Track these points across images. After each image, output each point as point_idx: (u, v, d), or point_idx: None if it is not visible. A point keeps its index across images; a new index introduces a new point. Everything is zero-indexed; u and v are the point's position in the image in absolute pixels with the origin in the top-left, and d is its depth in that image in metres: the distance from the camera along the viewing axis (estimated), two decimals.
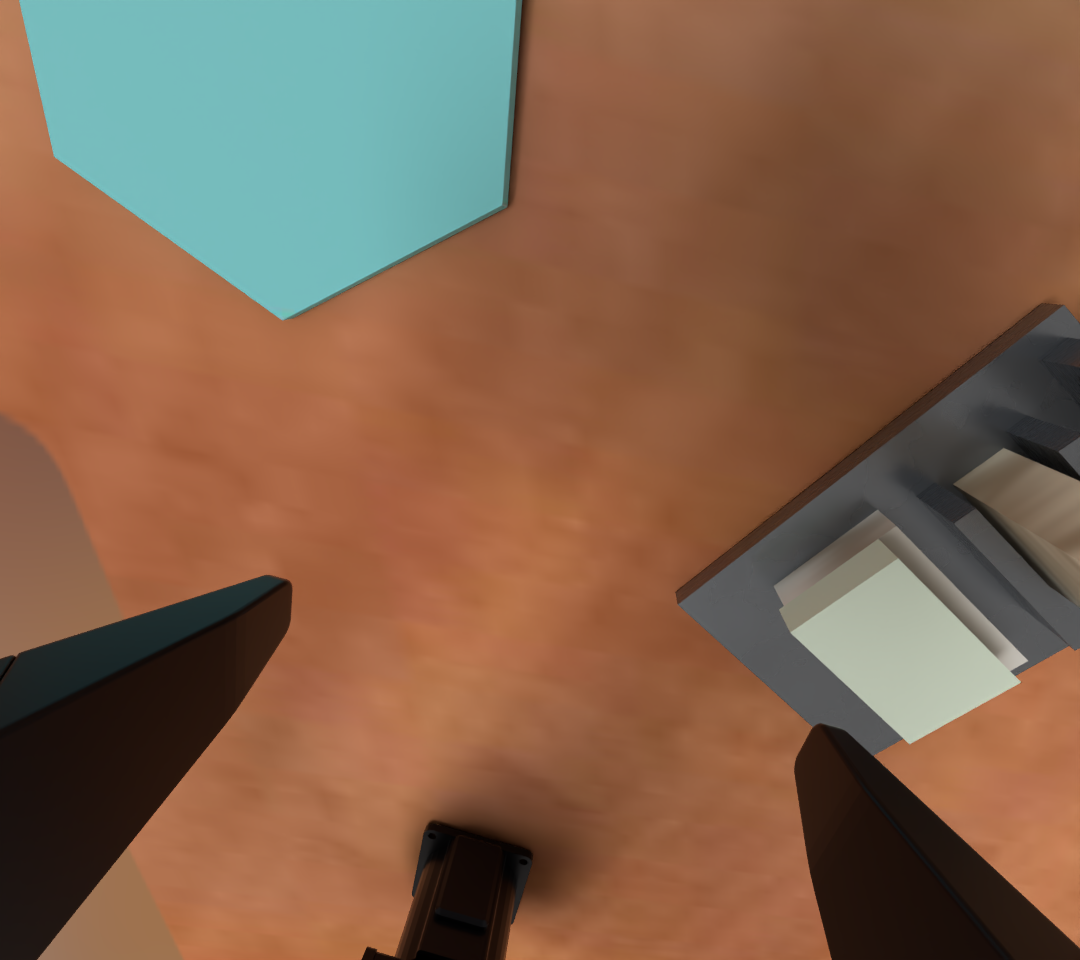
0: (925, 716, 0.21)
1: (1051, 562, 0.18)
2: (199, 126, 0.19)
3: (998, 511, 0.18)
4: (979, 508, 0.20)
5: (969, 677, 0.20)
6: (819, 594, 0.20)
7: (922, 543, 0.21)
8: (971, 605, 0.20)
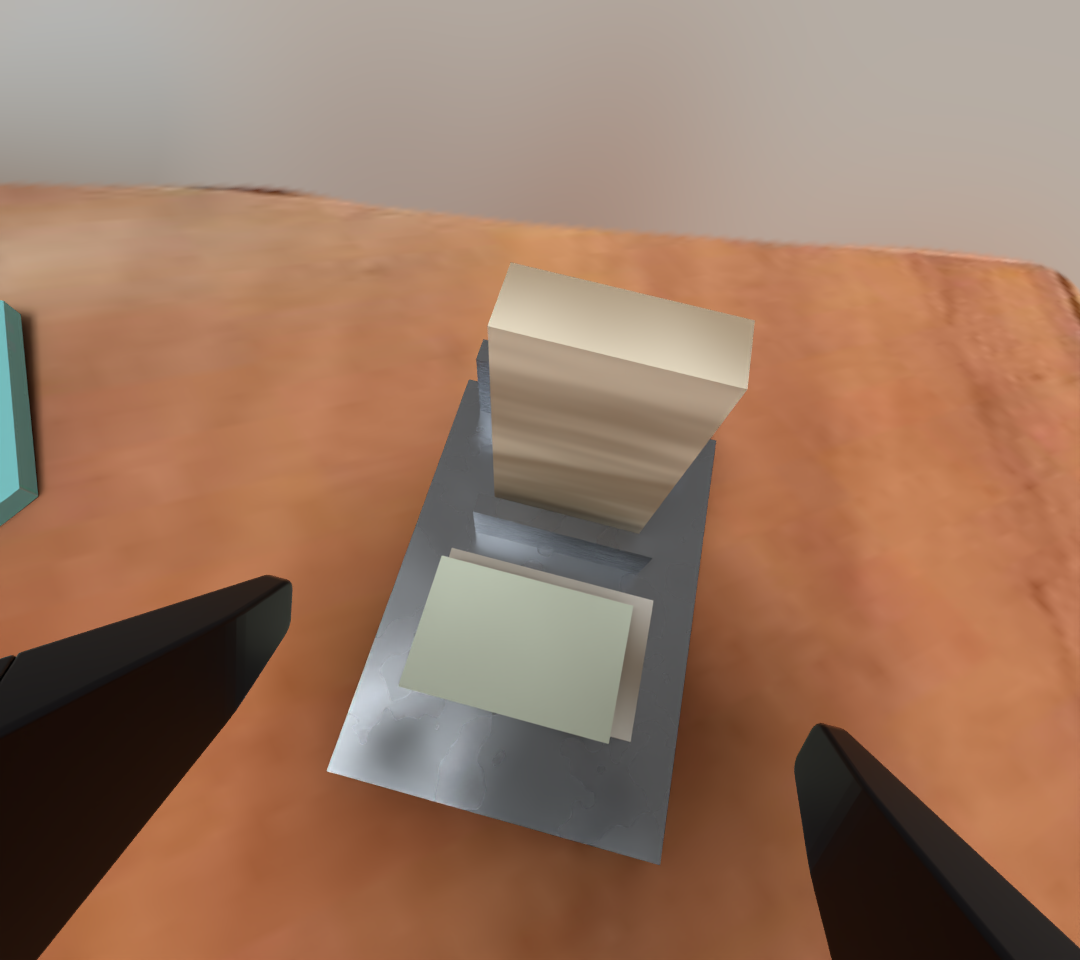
0: (593, 697, 0.18)
1: (548, 492, 0.20)
2: None
3: (494, 485, 0.21)
4: None
5: (590, 628, 0.19)
6: None
7: None
8: (564, 578, 0.21)
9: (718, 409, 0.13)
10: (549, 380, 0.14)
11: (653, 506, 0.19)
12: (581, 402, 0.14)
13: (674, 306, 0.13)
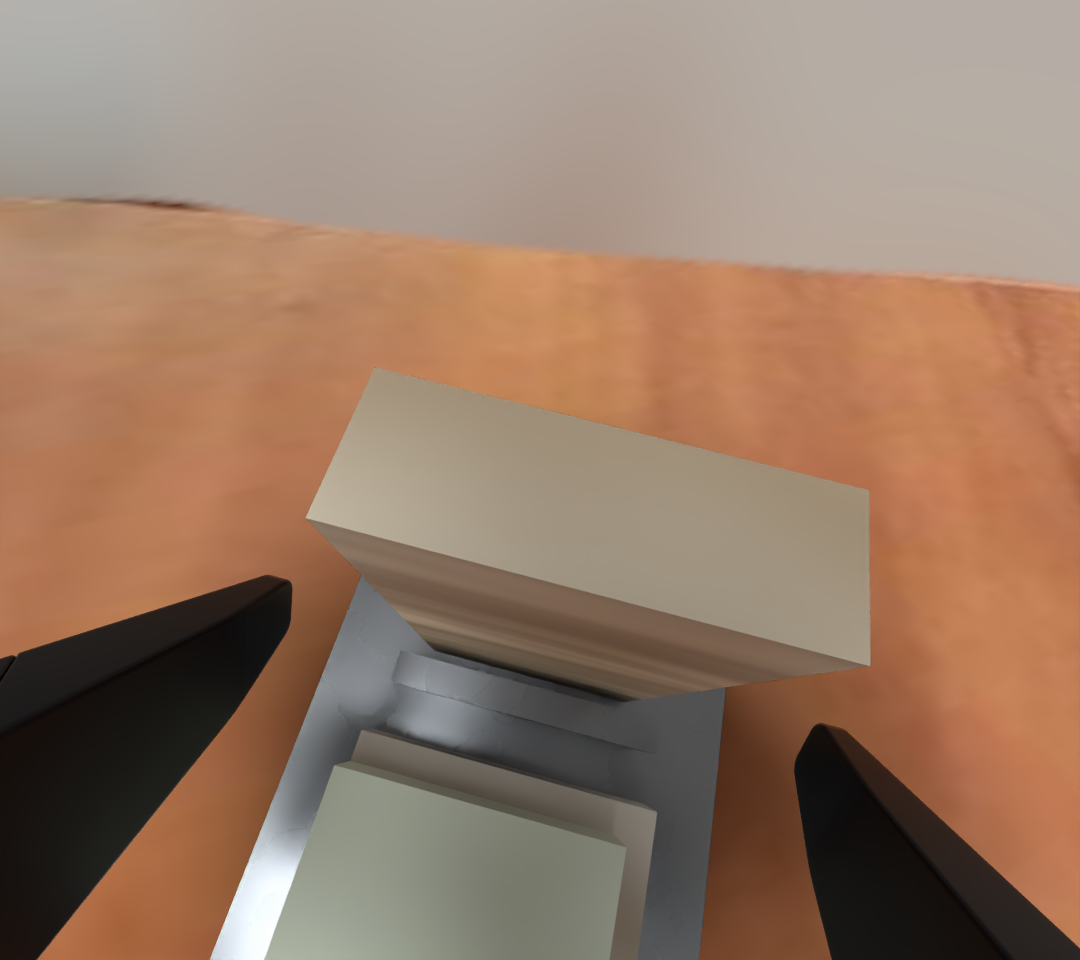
0: None
1: (500, 657, 0.14)
2: None
3: (424, 639, 0.14)
4: (467, 658, 0.16)
5: (560, 891, 0.12)
6: None
7: (454, 739, 0.16)
8: (526, 778, 0.14)
9: (793, 667, 0.06)
10: (460, 588, 0.07)
11: (657, 694, 0.12)
12: (526, 614, 0.08)
13: (704, 460, 0.06)
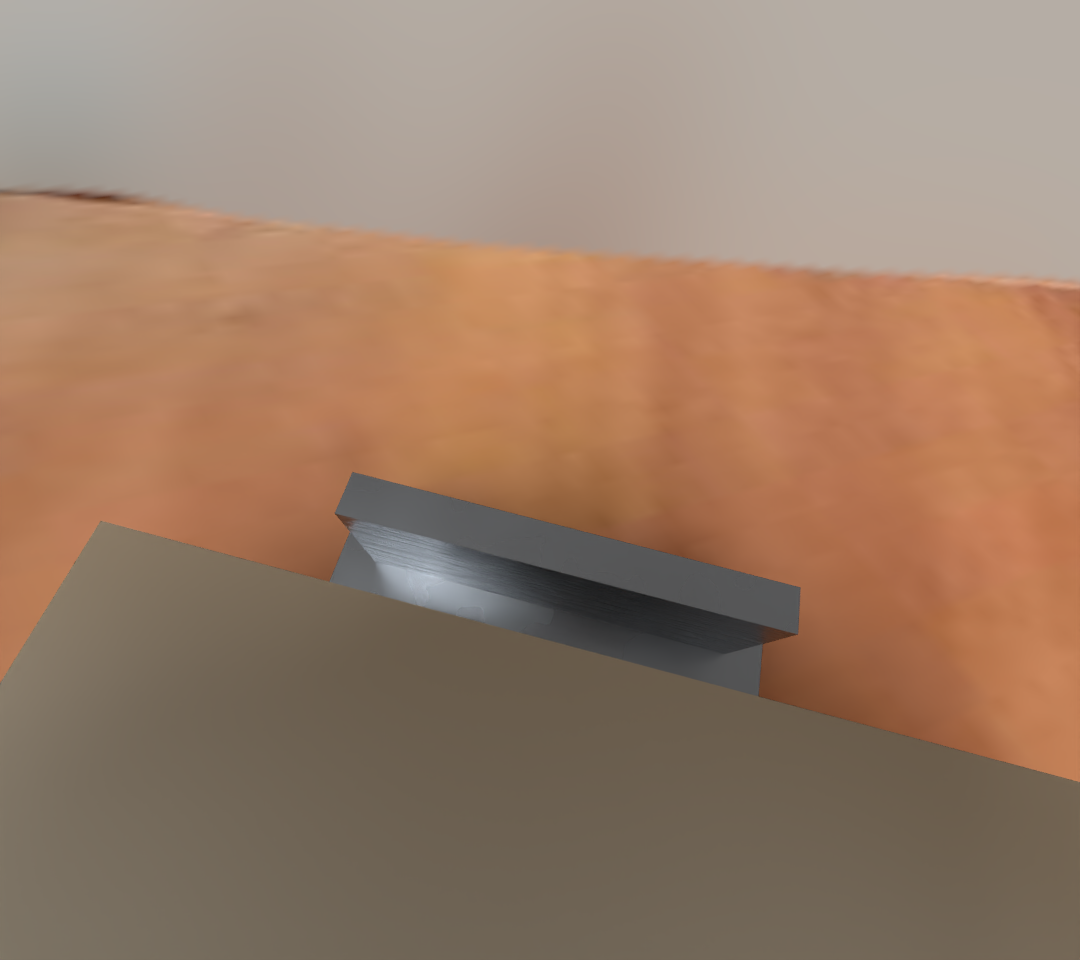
0: None
1: None
2: None
3: None
4: None
5: None
6: None
7: None
8: None
9: None
10: None
11: None
12: None
13: (793, 733, 0.03)
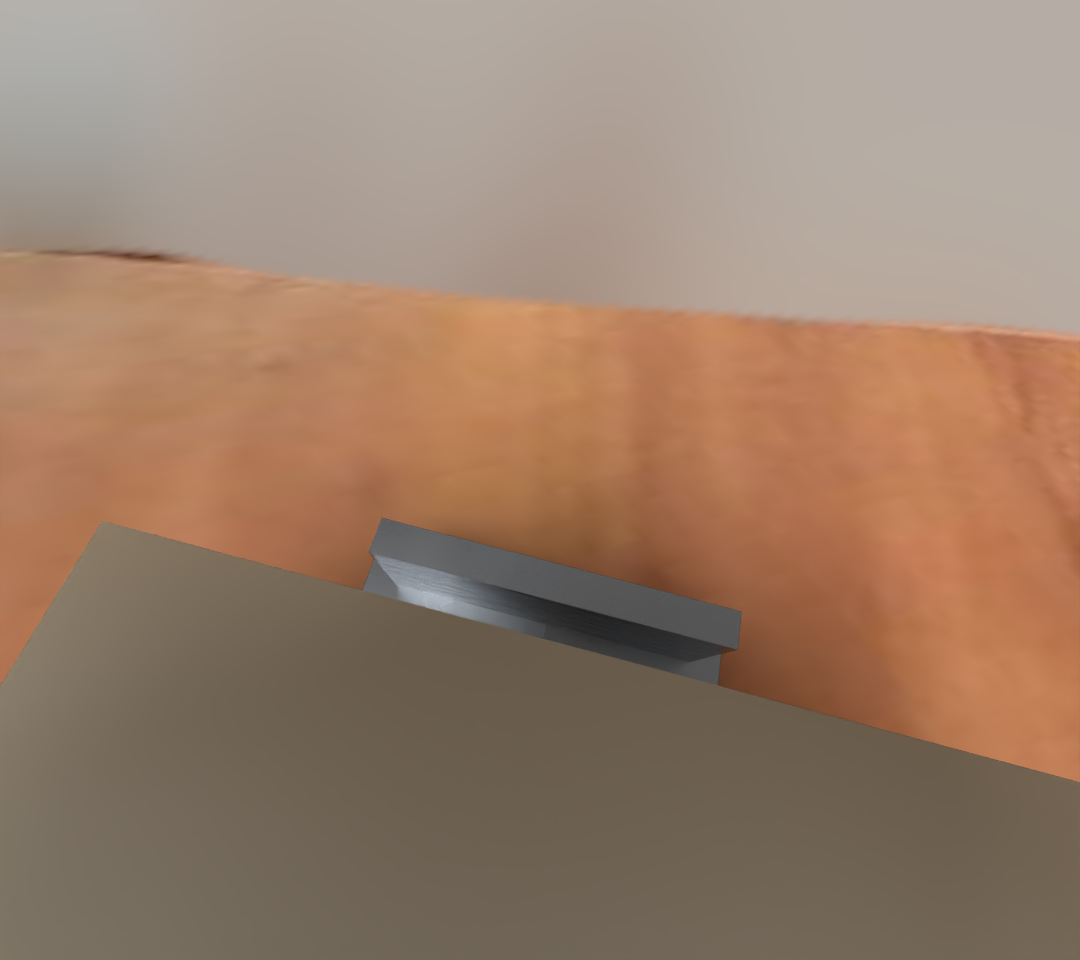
0: None
1: None
2: None
3: None
4: None
5: None
6: None
7: None
8: None
9: None
10: None
11: None
12: None
13: (793, 733, 0.03)
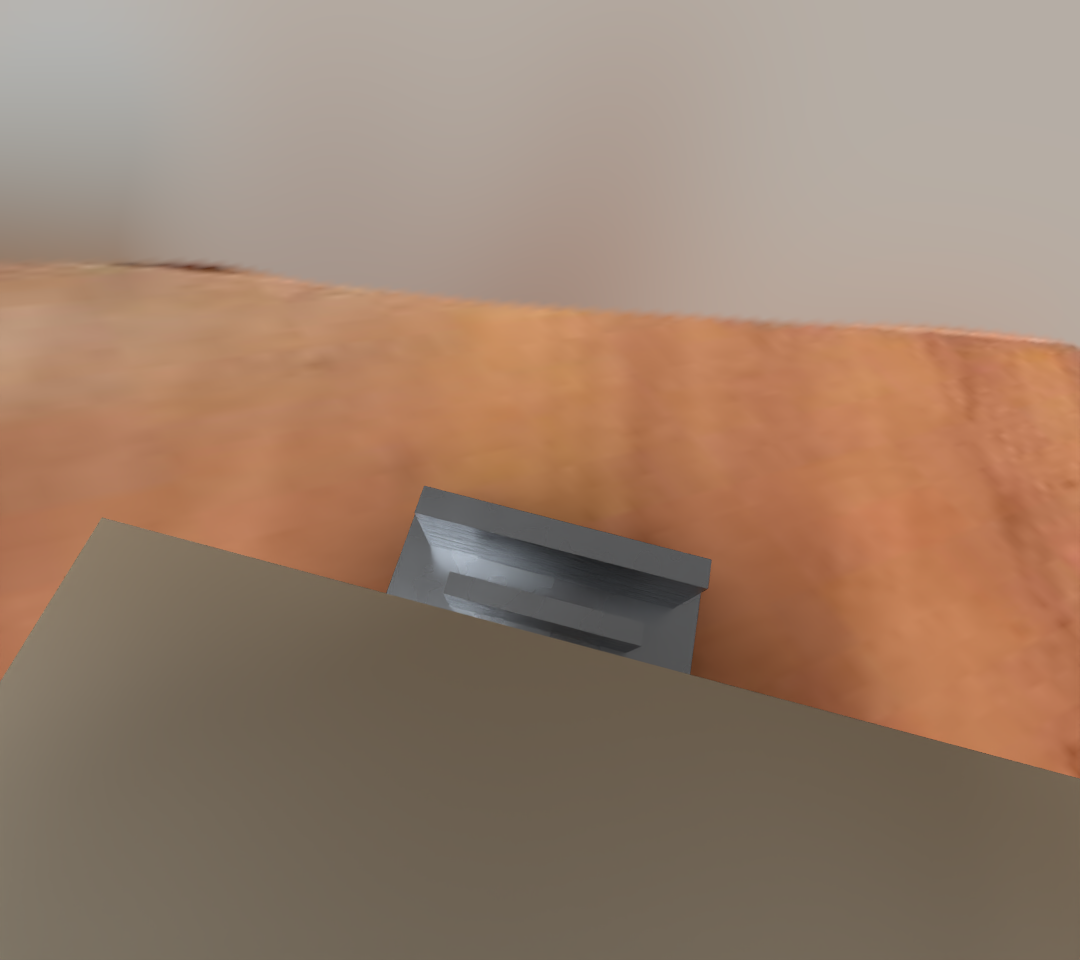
0: None
1: None
2: None
3: None
4: None
5: None
6: None
7: None
8: None
9: None
10: None
11: None
12: None
13: (795, 730, 0.03)
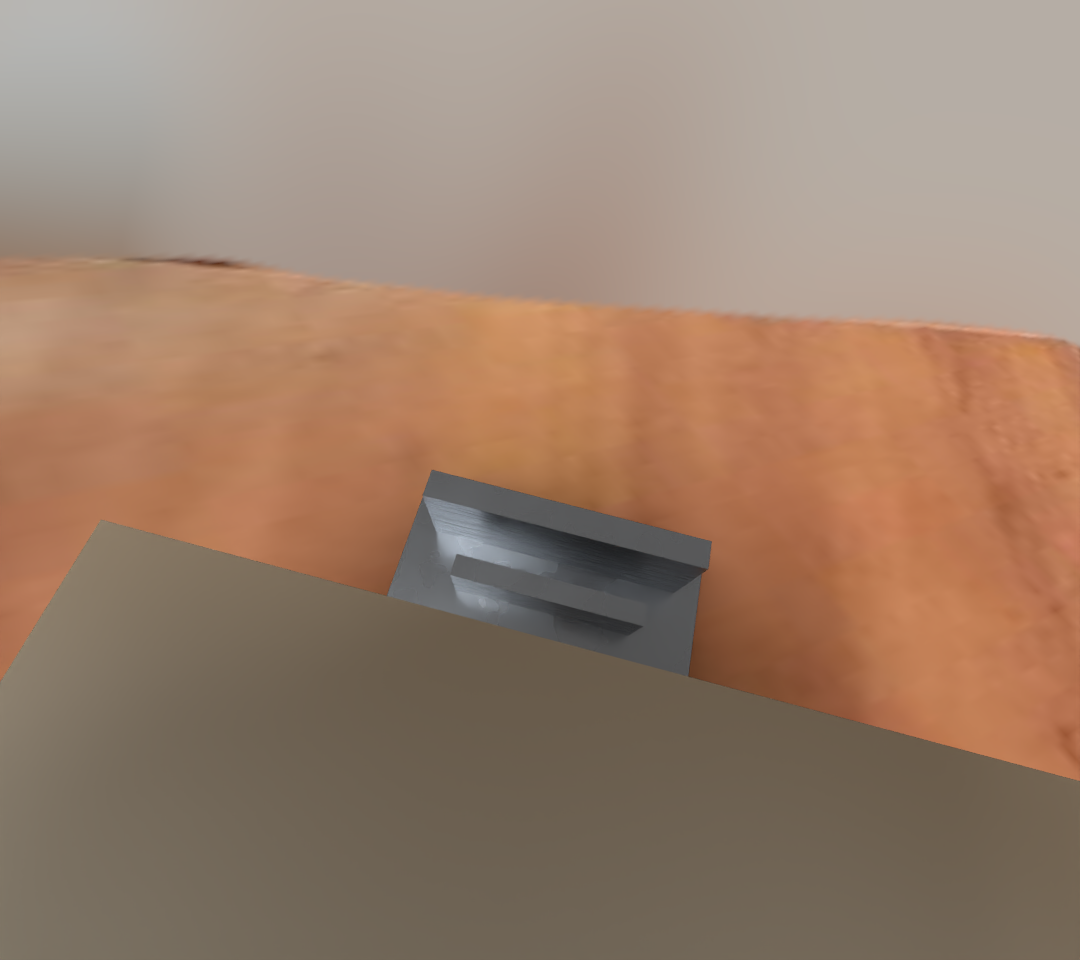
0: None
1: None
2: None
3: None
4: None
5: None
6: None
7: None
8: None
9: None
10: None
11: None
12: None
13: (793, 732, 0.03)
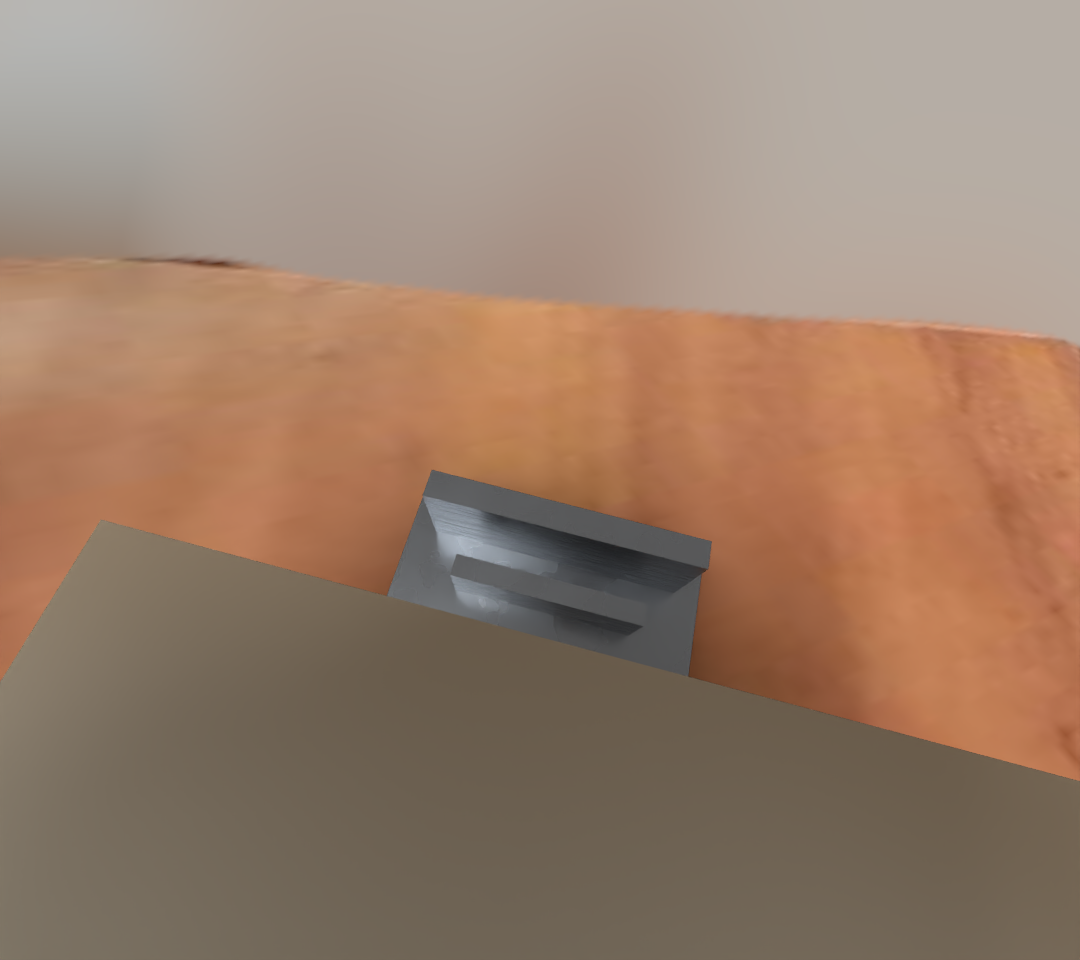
0: None
1: None
2: None
3: None
4: None
5: None
6: None
7: None
8: None
9: None
10: None
11: None
12: None
13: (793, 732, 0.03)
